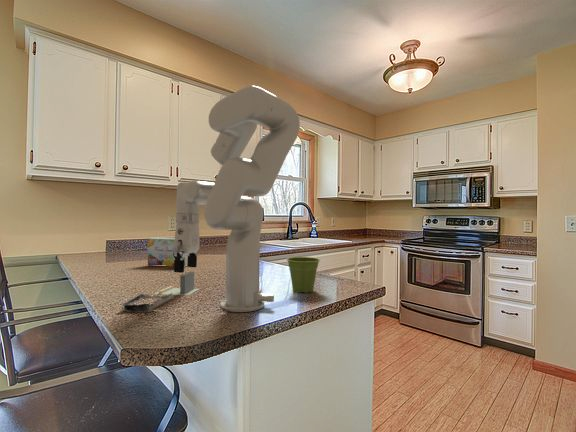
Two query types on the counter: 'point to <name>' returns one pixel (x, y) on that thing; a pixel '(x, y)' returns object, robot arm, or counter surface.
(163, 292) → the mat
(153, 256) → the snack box
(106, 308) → the counter surface
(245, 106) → the robot arm
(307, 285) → the plant pot
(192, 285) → the slate plaque
